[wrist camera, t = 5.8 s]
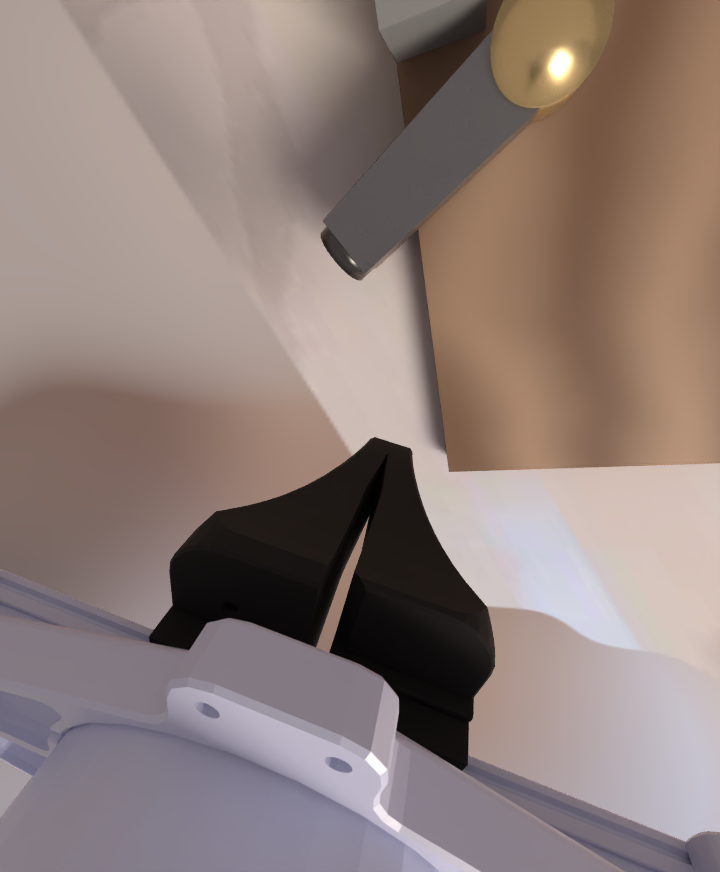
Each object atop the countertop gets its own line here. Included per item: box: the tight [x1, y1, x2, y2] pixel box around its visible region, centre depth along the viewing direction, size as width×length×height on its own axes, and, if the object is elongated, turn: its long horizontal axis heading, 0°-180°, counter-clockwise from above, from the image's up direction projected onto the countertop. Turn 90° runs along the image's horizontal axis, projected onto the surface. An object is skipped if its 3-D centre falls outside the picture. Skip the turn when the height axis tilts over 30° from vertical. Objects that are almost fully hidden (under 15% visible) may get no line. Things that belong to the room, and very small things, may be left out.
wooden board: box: [397, 0, 720, 472], centre depth 15 cm, size 14×24×2 cm, turn 12°
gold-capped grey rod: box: [321, 0, 614, 280], centre depth 13 cm, size 10×3×3 cm, turn 132°
